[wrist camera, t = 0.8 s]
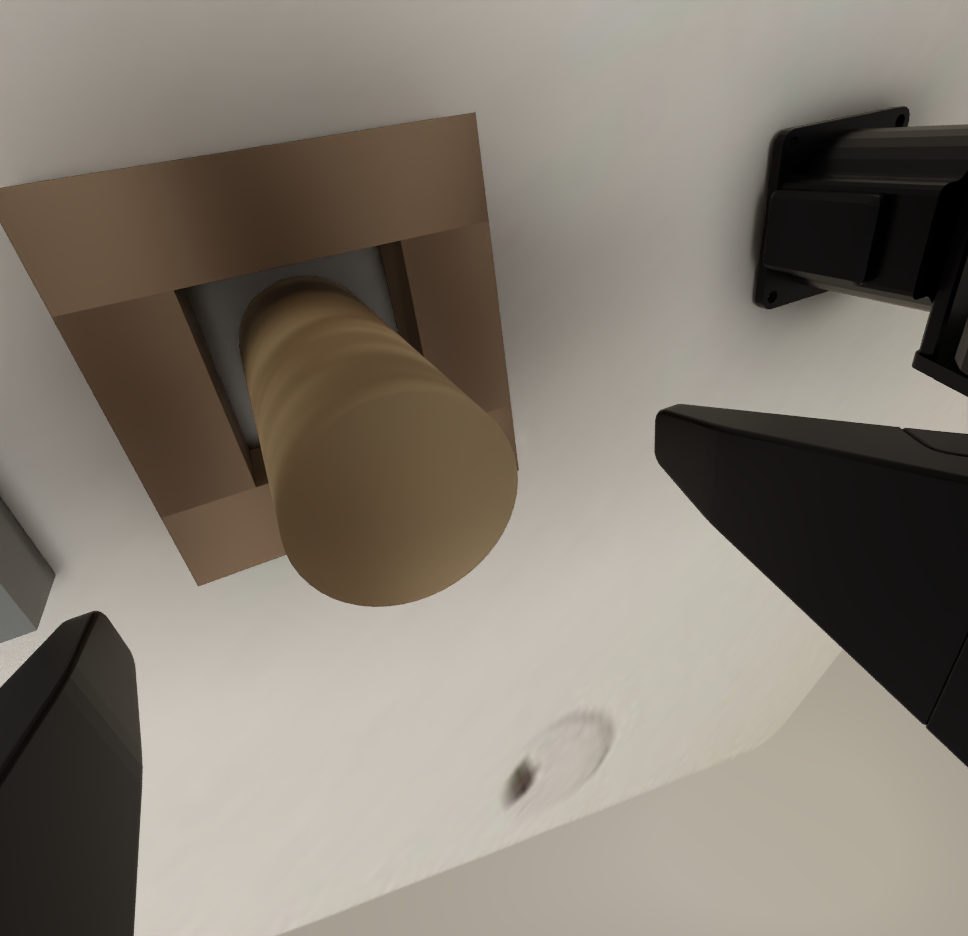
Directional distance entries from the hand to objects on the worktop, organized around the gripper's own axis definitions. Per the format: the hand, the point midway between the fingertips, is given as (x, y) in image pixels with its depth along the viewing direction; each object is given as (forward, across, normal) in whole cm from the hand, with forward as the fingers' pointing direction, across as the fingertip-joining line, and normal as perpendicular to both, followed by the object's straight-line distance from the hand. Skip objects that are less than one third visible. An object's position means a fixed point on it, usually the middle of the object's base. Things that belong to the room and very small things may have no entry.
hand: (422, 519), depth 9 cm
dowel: (+10, 0, 0) cm, 11 cm away
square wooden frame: (+10, 0, 0) cm, 10 cm away
